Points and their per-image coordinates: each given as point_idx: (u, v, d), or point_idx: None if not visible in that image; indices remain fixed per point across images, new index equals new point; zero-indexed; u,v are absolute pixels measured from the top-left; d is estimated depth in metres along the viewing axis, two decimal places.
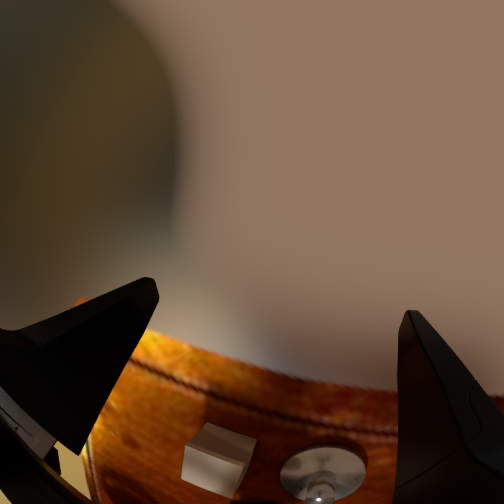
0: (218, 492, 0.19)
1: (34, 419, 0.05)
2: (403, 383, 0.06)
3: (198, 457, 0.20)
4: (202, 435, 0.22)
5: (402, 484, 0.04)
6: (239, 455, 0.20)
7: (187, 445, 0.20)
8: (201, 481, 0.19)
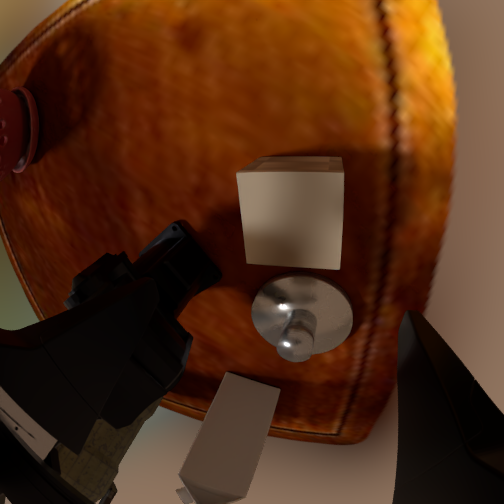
0: (248, 241, 0.16)
1: (34, 419, 0.05)
2: (403, 383, 0.06)
3: (325, 199, 0.14)
4: None
5: (402, 485, 0.04)
6: None
7: (343, 175, 0.13)
8: (259, 210, 0.15)
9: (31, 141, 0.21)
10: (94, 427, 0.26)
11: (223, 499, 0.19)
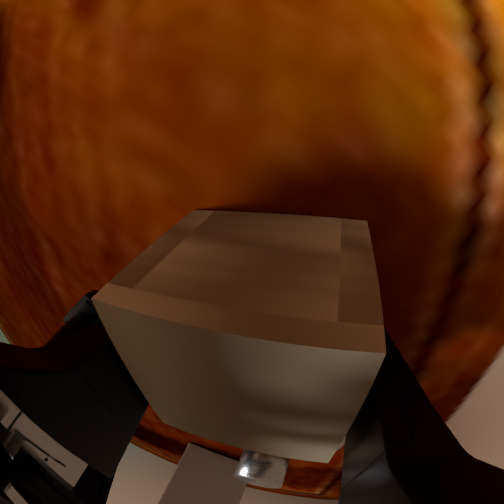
0: (156, 405, 0.07)
1: (65, 447, 0.04)
2: None
3: (314, 397, 0.04)
4: None
5: (345, 486, 0.05)
6: None
7: (381, 355, 0.04)
8: (157, 376, 0.06)
9: None
10: None
11: None
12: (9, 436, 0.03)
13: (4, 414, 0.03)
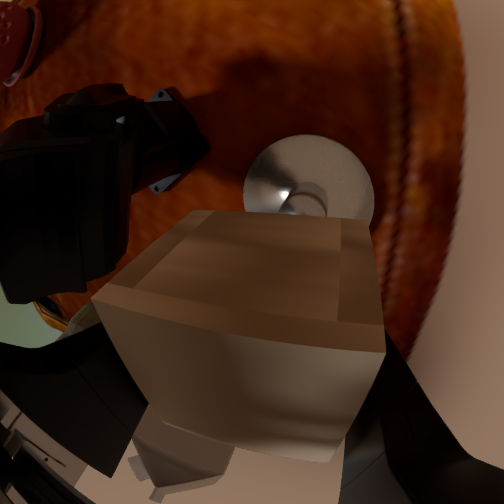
0: (155, 404, 0.07)
1: (65, 447, 0.04)
2: None
3: (314, 397, 0.04)
4: None
5: (345, 485, 0.05)
6: None
7: (381, 355, 0.04)
8: (157, 376, 0.06)
9: (30, 47, 0.15)
10: None
11: (192, 476, 0.14)
12: (9, 436, 0.03)
13: (4, 414, 0.03)
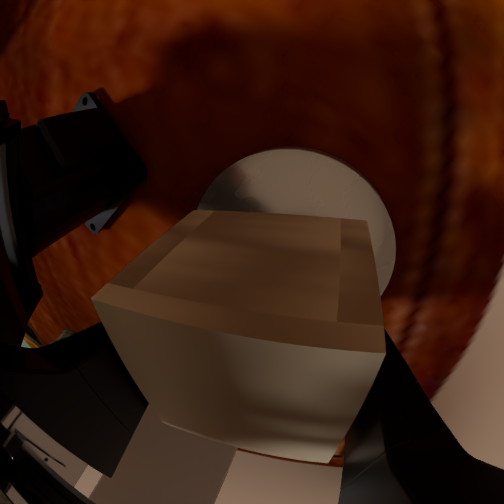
0: (155, 405, 0.07)
1: (65, 447, 0.04)
2: None
3: (314, 397, 0.04)
4: None
5: (345, 485, 0.05)
6: None
7: (381, 356, 0.04)
8: (157, 377, 0.06)
9: None
10: None
11: None
12: (9, 436, 0.03)
13: (4, 414, 0.03)
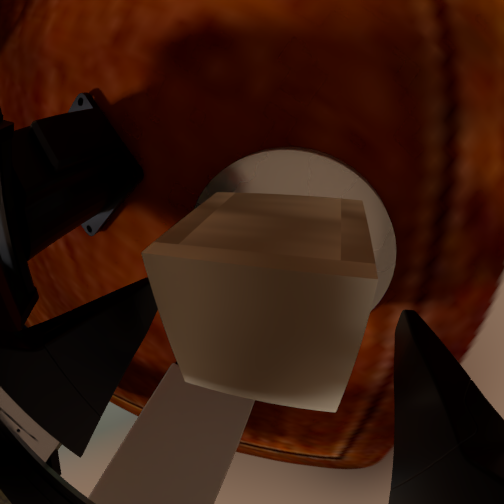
0: (182, 359, 0.09)
1: (36, 421, 0.05)
2: (399, 383, 0.06)
3: (325, 326, 0.06)
4: None
5: (398, 485, 0.04)
6: None
7: (374, 283, 0.05)
8: (191, 324, 0.07)
9: None
10: None
11: None
12: None
13: None
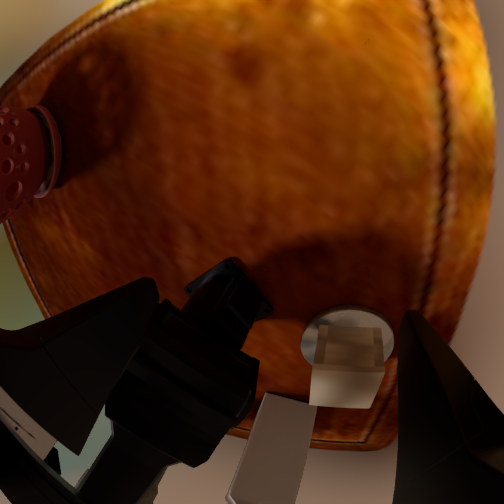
0: (313, 397, 0.21)
1: (34, 419, 0.05)
2: (403, 383, 0.06)
3: (369, 383, 0.18)
4: None
5: (402, 484, 0.04)
6: None
7: (383, 373, 0.17)
8: (324, 386, 0.20)
9: (54, 166, 0.22)
10: None
11: None
12: None
13: None
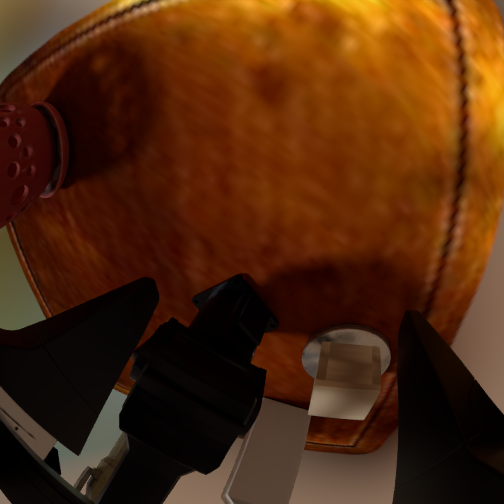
0: (312, 408, 0.22)
1: (34, 419, 0.05)
2: (403, 383, 0.06)
3: (365, 398, 0.19)
4: None
5: (403, 484, 0.04)
6: None
7: (380, 390, 0.18)
8: (323, 399, 0.21)
9: (61, 168, 0.22)
10: None
11: None
12: None
13: None
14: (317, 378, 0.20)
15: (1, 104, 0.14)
